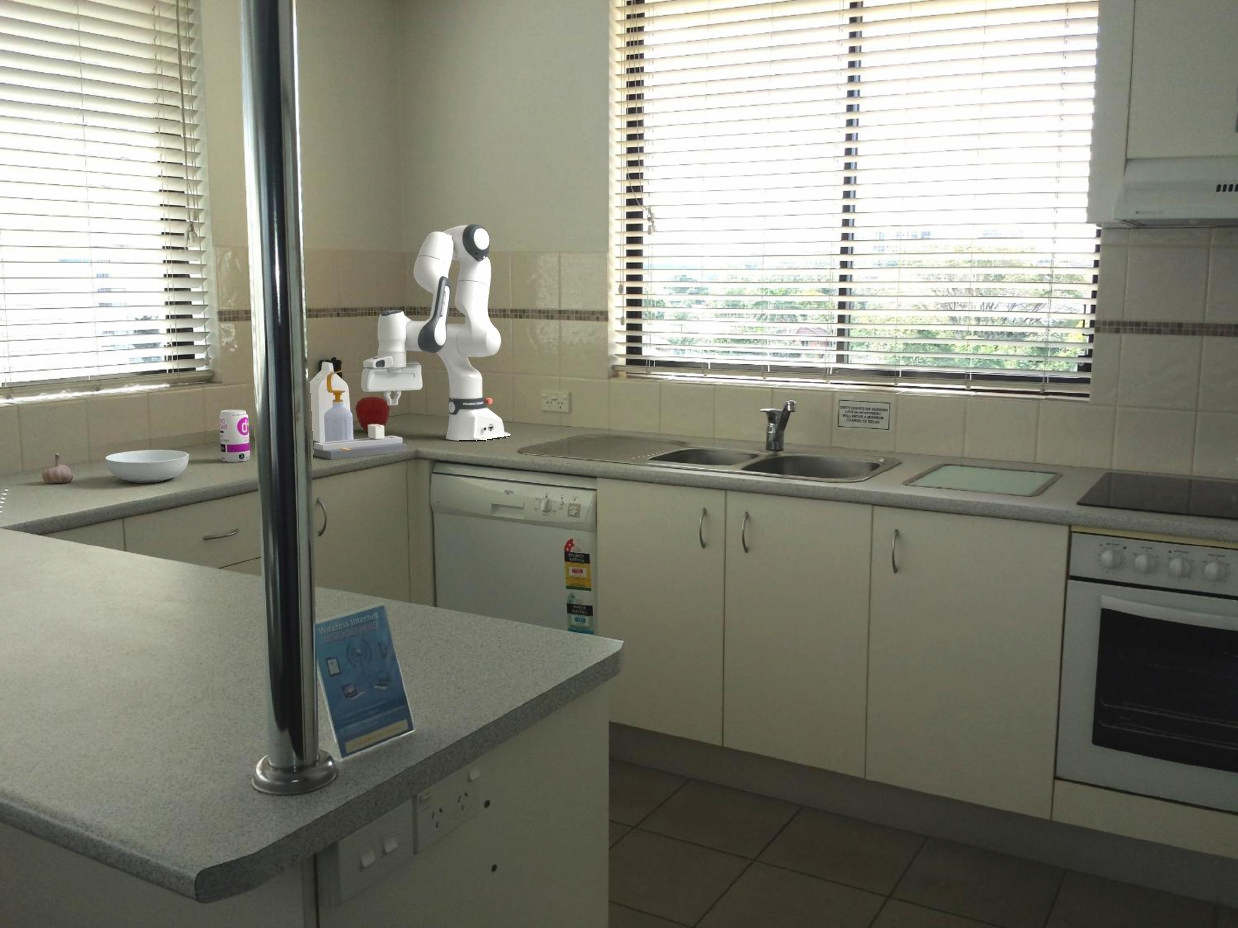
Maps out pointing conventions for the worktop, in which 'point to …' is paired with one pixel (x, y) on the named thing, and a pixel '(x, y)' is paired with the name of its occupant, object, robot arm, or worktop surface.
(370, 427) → the white small block
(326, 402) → the milk
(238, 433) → the supplement can
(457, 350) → the robot arm
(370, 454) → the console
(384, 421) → the apple
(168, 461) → the serving bowl
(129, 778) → the worktop surface
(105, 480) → the worktop surface
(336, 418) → the soap bottle
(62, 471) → the garlic bulb
